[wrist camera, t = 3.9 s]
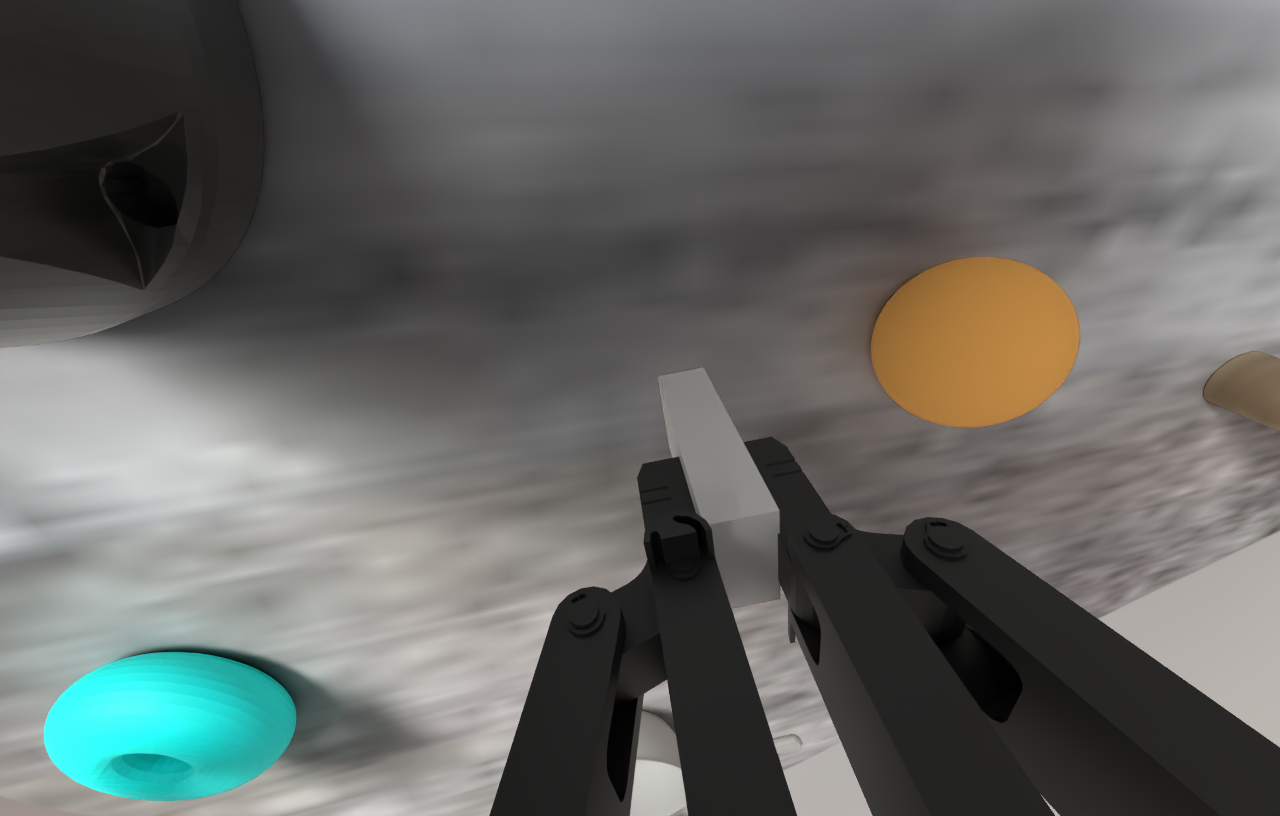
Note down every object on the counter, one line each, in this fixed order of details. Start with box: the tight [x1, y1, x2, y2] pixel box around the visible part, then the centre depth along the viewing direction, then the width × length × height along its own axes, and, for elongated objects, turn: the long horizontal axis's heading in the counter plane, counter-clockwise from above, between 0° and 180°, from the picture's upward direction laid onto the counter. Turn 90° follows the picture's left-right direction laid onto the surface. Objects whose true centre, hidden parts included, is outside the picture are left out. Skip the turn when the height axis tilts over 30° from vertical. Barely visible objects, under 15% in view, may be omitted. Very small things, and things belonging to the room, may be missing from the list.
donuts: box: [44, 652, 296, 801], centre depth 20 cm, size 10×10×10 cm
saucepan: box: [630, 711, 802, 816], centre depth 30 cm, size 11×18×4 cm, turn 115°
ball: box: [871, 257, 1080, 427], centre depth 15 cm, size 6×6×6 cm
